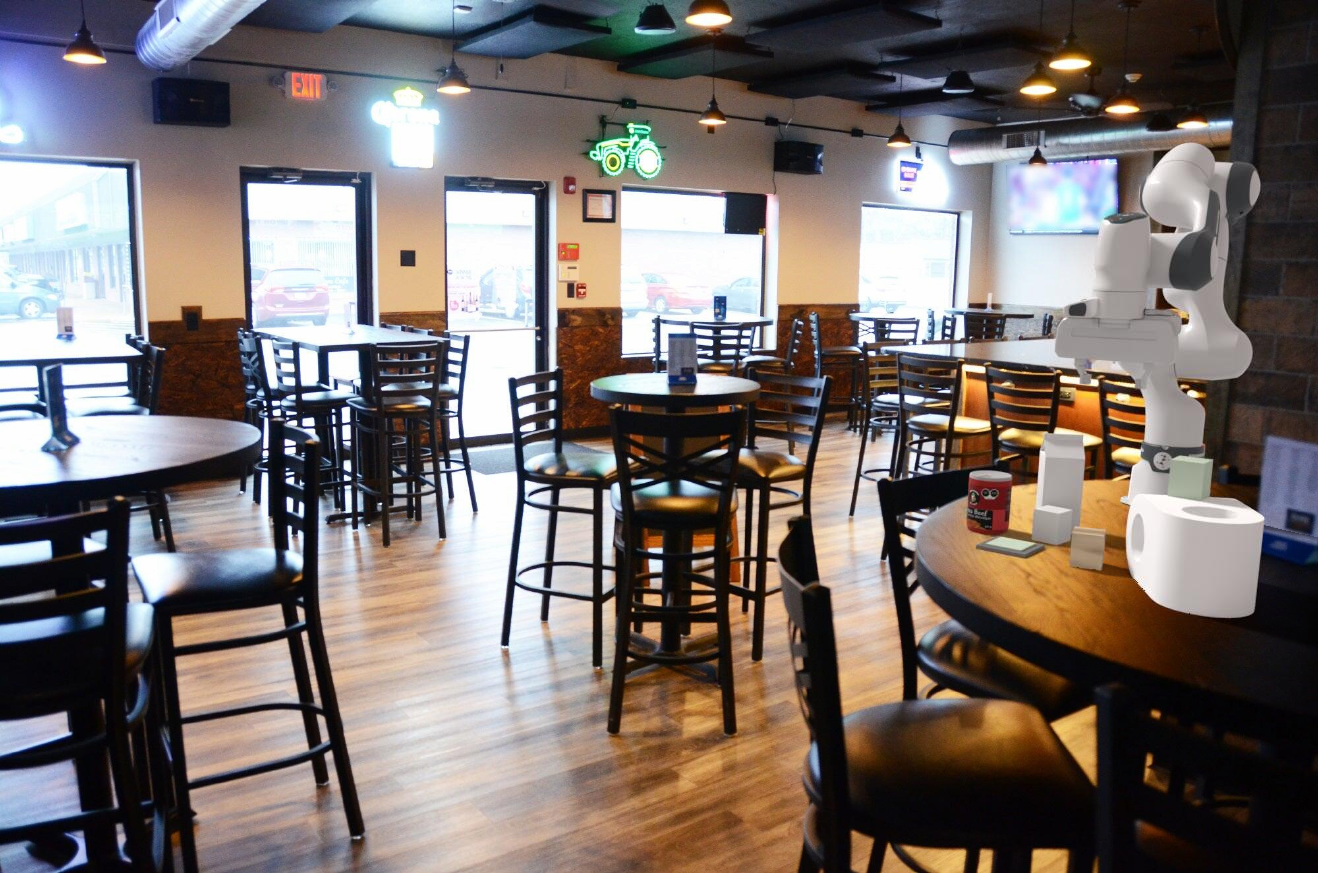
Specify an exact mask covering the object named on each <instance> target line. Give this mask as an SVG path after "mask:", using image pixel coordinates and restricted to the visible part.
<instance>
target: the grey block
mask: <svg viewBox="0 0 1318 873" xmlns="http://www.w3.org/2000/svg"><path fill="white" fill-rule="evenodd" d="M1072 513H1073V510H1071V509H1066V508H1061V507H1055V506H1050V505H1046V506H1042V507H1039V508H1036V507H1035V508H1033V513H1032V514H1033V515H1032V527H1031V528H1032V529H1031V540H1032V541H1035V542H1040V543H1043V544H1044V543H1045V544H1049V545H1054V546H1058V545H1062V544H1064V543H1068V542H1070V541H1071V539H1072V535H1071V526H1072Z"/></svg>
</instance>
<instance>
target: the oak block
mask: <svg viewBox="0 0 1318 873" xmlns="http://www.w3.org/2000/svg"><path fill="white" fill-rule="evenodd" d="M1106 534H1107V530H1106V529H1102V528H1094V527H1093V528H1092V527H1083V526H1080V527H1076V526H1075V527H1074V530H1073V532H1072V535H1071V540H1070V541H1071V543H1070V556H1069V566H1070V568H1077V567H1079V568H1078V569H1084V570H1092V569H1096V570H1095V571H1102V570H1103V565H1104V557H1105V545H1106Z"/></svg>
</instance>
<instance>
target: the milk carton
mask: <svg viewBox="0 0 1318 873" xmlns="http://www.w3.org/2000/svg"><path fill="white" fill-rule="evenodd" d="M1084 446H1085V445H1084V434H1072V433H1071V434H1070V433H1051V432H1050V433H1047V432H1044V433H1043V440H1042V442H1041V446H1040V449H1039V459H1038V460H1039V461H1038V462H1039V463H1038V473H1037V474H1038V475H1037V489H1036V500H1035V501H1036V502H1035V508H1039V507H1042V506H1046V505H1050V506H1055V507H1061V508H1066V509H1071V510H1073V513H1072V526H1071V536H1072V532H1073V530H1074V527H1075V526H1076V527H1081V514H1082V501H1083V491H1084V479H1085V477H1084V476H1085V475H1084V474H1085V467H1086V466H1085V465H1086V454H1085V447H1084Z"/></svg>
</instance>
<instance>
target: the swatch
mask: <svg viewBox="0 0 1318 873" xmlns="http://www.w3.org/2000/svg"><path fill="white" fill-rule="evenodd" d="M975 548H976V550H977V549H978V550H982V551H983V550H984V551H988V552H992V553H993V552H994V553H998V554H1003V555H1007V556H1011V557H1018V558H1022V559H1026V558H1027V557H1030V556H1032V555H1033V554H1035V553H1037V552H1039V551H1042V550H1043V549H1045V548H1046V546H1045V544H1044V543H1036V542H1032V541H1027V540H1022V539H1015V538H1011V537H1005V536H1000V535H996V536H994V537H991V538H990V539H987V540H985V541H982V542H979V543H978V544H976V545H975Z"/></svg>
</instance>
